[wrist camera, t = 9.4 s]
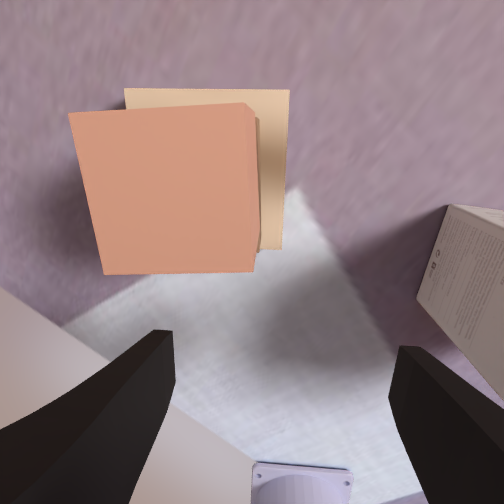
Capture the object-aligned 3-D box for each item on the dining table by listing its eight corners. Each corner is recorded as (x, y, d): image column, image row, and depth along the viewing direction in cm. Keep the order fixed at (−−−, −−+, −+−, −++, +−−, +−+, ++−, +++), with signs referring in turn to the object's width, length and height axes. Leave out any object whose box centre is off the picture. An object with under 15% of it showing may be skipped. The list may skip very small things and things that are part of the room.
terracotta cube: (259, 228, 15) (253, 272, 11) (155, 231, 16) (104, 275, 11) (254, 112, 13) (244, 102, 9) (137, 119, 14) (67, 113, 9)
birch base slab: (280, 236, 20) (281, 249, 18) (155, 231, 21) (140, 244, 19) (287, 95, 18) (289, 89, 15) (143, 93, 18) (123, 88, 16)
